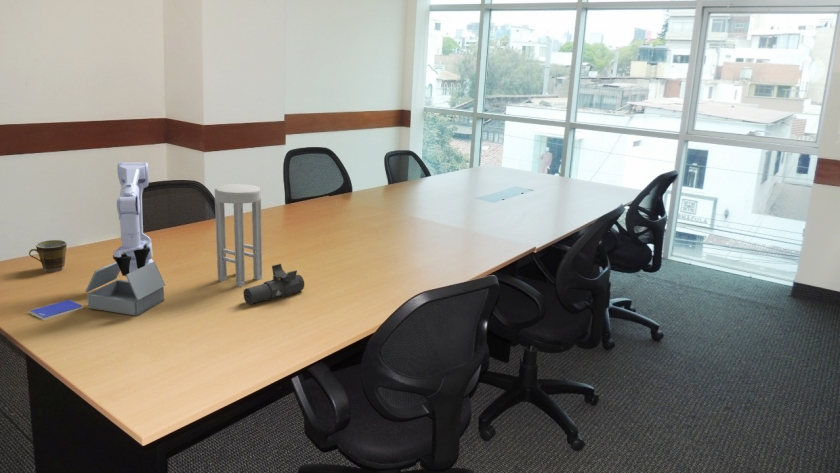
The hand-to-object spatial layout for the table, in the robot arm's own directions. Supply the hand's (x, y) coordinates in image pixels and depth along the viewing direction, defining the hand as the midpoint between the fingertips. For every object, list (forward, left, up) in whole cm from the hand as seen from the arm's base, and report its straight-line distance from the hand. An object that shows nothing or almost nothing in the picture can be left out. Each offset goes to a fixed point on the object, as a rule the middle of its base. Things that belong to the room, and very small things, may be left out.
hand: (133, 272), depth 214 cm
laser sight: (-21, +41, -11) cm, 47 cm away
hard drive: (+15, -18, -11) cm, 26 cm away
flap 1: (+3, -8, -1) cm, 9 cm away
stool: (-32, +21, -11) cm, 40 cm away
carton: (+3, -1, -11) cm, 11 cm away
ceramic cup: (-15, -48, -11) cm, 51 cm away
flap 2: (+3, +7, -1) cm, 7 cm away
